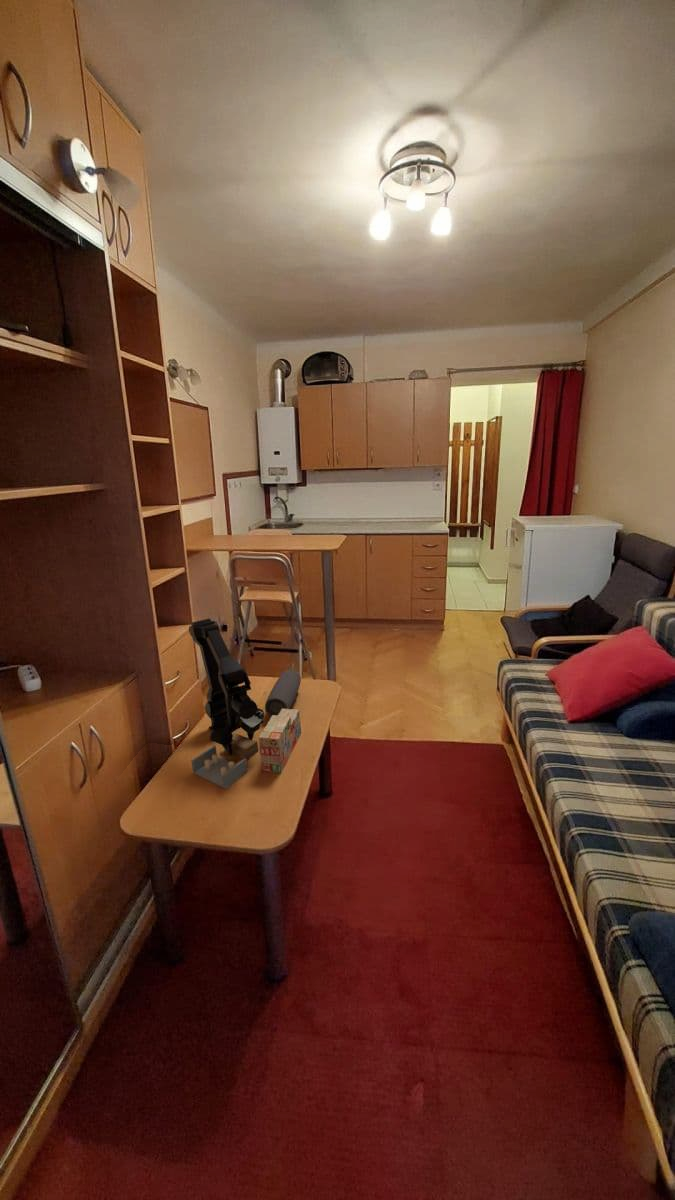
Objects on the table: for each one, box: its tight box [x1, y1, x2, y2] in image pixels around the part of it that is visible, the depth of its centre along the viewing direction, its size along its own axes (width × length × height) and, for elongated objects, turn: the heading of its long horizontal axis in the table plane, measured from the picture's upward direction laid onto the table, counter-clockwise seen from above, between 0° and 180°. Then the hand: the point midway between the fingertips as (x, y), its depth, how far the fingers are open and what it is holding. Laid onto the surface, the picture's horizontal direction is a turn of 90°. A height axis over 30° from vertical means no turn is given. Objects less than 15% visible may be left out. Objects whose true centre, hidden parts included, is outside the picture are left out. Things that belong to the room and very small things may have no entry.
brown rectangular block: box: [223, 732, 259, 761], centre depth 150 cm, size 10×5×4 cm, turn 58°
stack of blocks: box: [258, 708, 302, 774], centre depth 148 cm, size 21×6×12 cm, turn 168°
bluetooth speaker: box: [264, 669, 302, 718], centre depth 176 cm, size 23×9×10 cm, turn 172°
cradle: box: [190, 744, 249, 790], centre depth 140 cm, size 14×9×4 cm, turn 57°
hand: (240, 747), depth 150 cm, fingers open, 9 cm apart
